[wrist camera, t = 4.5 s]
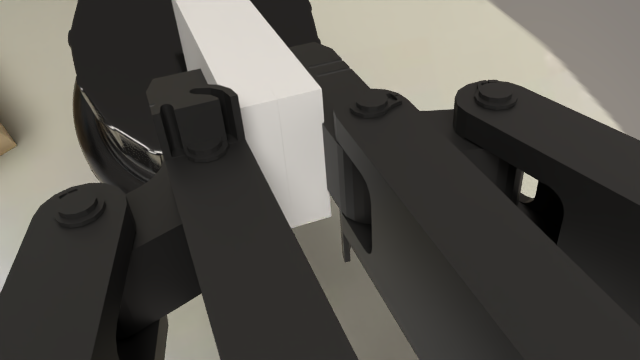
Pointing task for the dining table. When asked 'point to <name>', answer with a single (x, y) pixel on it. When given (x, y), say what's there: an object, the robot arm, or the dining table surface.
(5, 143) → the oak block
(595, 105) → the dining table surface
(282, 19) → the ink bottle
